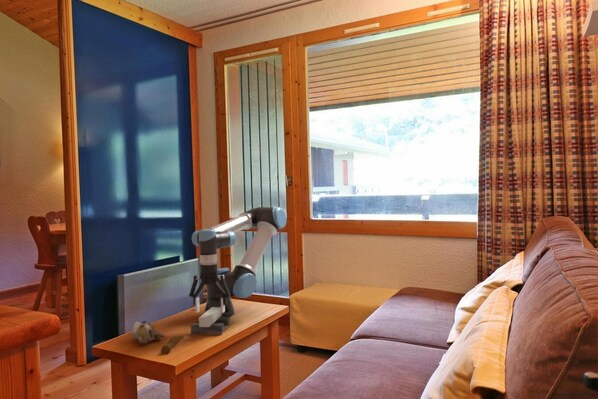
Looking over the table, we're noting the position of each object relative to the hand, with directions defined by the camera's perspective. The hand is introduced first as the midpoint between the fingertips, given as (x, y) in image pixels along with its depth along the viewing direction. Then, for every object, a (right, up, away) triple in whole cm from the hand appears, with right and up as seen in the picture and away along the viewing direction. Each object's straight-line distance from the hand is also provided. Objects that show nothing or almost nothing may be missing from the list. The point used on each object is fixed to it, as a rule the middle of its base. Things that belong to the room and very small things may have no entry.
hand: (210, 312), depth 184 cm
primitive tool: (-12, -9, -16) cm, 23 cm away
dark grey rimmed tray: (0, -8, 0) cm, 8 cm away
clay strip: (0, -4, 0) cm, 4 cm away
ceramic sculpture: (-25, -9, -11) cm, 29 cm away
